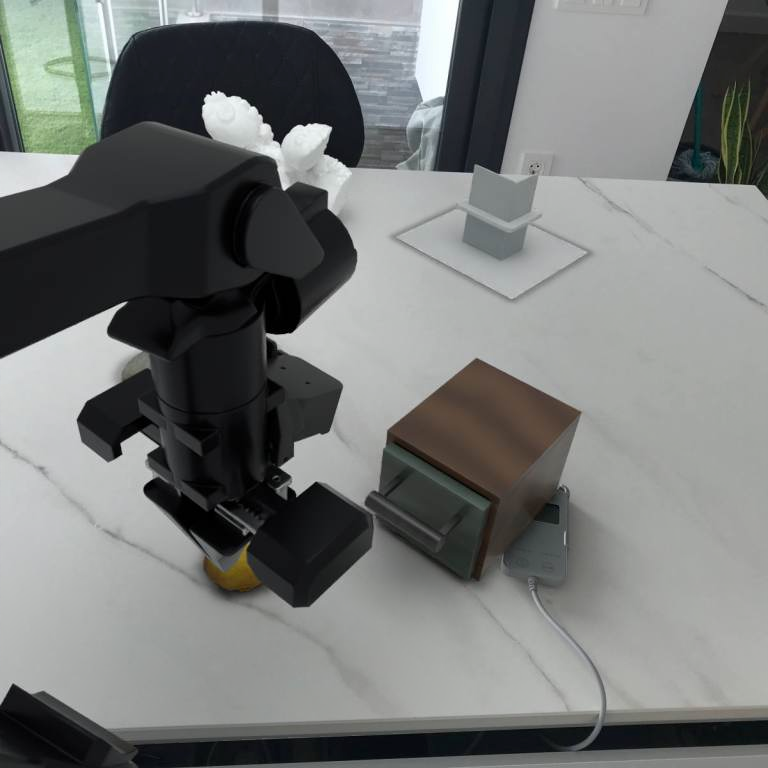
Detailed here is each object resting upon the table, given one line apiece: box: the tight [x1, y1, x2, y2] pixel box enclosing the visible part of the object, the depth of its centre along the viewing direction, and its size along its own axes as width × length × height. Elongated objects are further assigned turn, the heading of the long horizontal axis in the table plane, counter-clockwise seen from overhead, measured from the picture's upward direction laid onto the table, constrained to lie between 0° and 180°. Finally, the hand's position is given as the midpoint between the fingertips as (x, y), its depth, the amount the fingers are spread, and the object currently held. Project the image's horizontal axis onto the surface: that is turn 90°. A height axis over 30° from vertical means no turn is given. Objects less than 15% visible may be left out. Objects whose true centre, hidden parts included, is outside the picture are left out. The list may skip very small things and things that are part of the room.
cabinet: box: [385, 357, 583, 582], centre depth 69 cm, size 14×11×11 cm
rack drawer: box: [363, 442, 491, 580], centre depth 67 cm, size 16×10×9 cm, turn 142°
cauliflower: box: [201, 90, 353, 217], centre depth 107 cm, size 19×20×20 cm
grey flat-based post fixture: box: [395, 164, 590, 300], centre depth 107 cm, size 19×21×12 cm
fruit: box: [202, 541, 262, 593], centre depth 65 cm, size 8×8×4 cm
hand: (226, 565), depth 50 cm, fingers closed
